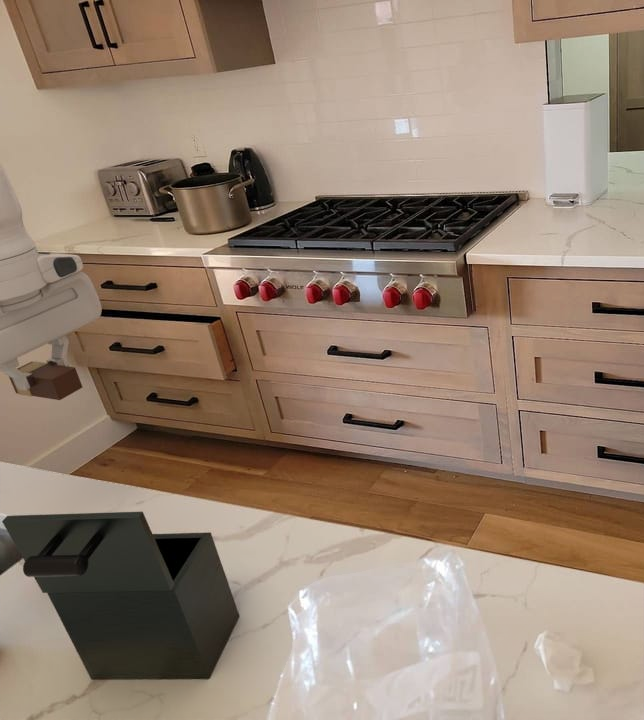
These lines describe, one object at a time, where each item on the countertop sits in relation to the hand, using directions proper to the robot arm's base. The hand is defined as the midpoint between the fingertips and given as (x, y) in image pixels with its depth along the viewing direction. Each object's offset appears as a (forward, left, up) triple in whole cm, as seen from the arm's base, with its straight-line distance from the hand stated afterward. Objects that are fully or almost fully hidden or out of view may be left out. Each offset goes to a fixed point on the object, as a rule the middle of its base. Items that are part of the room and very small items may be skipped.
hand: (44, 378), depth 88 cm
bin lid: (-8, -32, -6) cm, 33 cm away
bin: (-5, -29, -24) cm, 38 cm away
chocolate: (0, 0, -2) cm, 2 cm away
